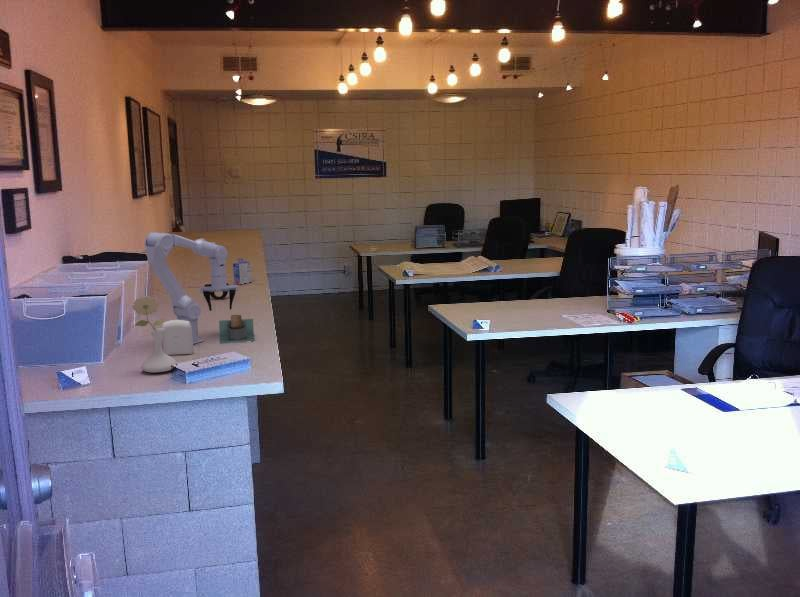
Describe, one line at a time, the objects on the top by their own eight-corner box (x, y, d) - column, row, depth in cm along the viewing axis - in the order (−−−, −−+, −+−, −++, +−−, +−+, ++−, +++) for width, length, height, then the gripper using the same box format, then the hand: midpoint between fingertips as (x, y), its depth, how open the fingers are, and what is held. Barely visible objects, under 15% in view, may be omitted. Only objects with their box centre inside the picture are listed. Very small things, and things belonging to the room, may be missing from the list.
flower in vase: (181, 365, 246) (176, 292, 241) (172, 375, 234) (167, 298, 230) (142, 366, 245) (136, 293, 241) (131, 375, 234) (125, 299, 229)
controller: (229, 299, 369) (228, 280, 367) (204, 300, 367) (203, 281, 365) (229, 298, 373) (228, 278, 371) (205, 299, 371) (203, 279, 369)
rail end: (237, 337, 278) (236, 317, 277) (229, 336, 280) (228, 316, 279) (244, 335, 282) (243, 315, 280) (236, 334, 284) (235, 314, 282)
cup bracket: (254, 341, 279) (254, 324, 277) (219, 343, 276) (218, 326, 275) (253, 335, 289) (252, 318, 287) (219, 337, 286) (218, 320, 284)
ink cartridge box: (245, 282, 426) (244, 257, 423) (252, 282, 423) (251, 257, 421) (233, 284, 418) (232, 259, 415) (240, 285, 415) (239, 259, 412)
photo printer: (162, 355, 259) (160, 321, 257) (165, 352, 263) (162, 319, 261) (192, 354, 260) (190, 320, 257) (194, 351, 264) (192, 318, 262)
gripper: (237, 273, 291) (239, 306, 293) (199, 274, 287) (201, 308, 290) (237, 275, 284) (239, 309, 286) (198, 277, 281) (201, 312, 283)
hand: (220, 309), depth 288 cm, fingers open, 7 cm apart
